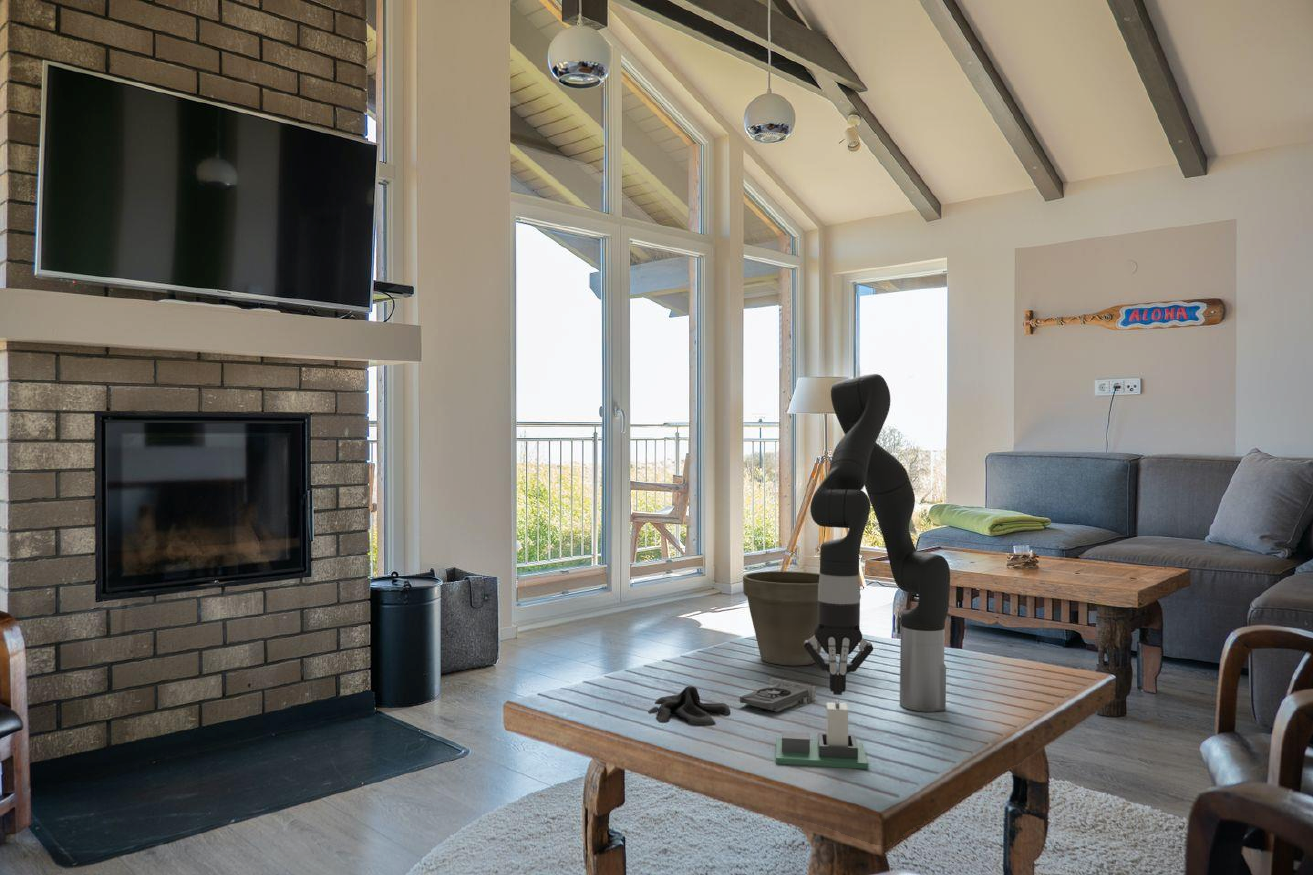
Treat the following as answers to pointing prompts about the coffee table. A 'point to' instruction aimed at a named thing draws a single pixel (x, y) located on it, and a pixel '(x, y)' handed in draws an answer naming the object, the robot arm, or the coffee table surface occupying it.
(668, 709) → the cloth
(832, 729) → the plug
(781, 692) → the graphics card
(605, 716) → the coffee table surface
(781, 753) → the header board
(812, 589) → the plant pot
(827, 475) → the robot arm
